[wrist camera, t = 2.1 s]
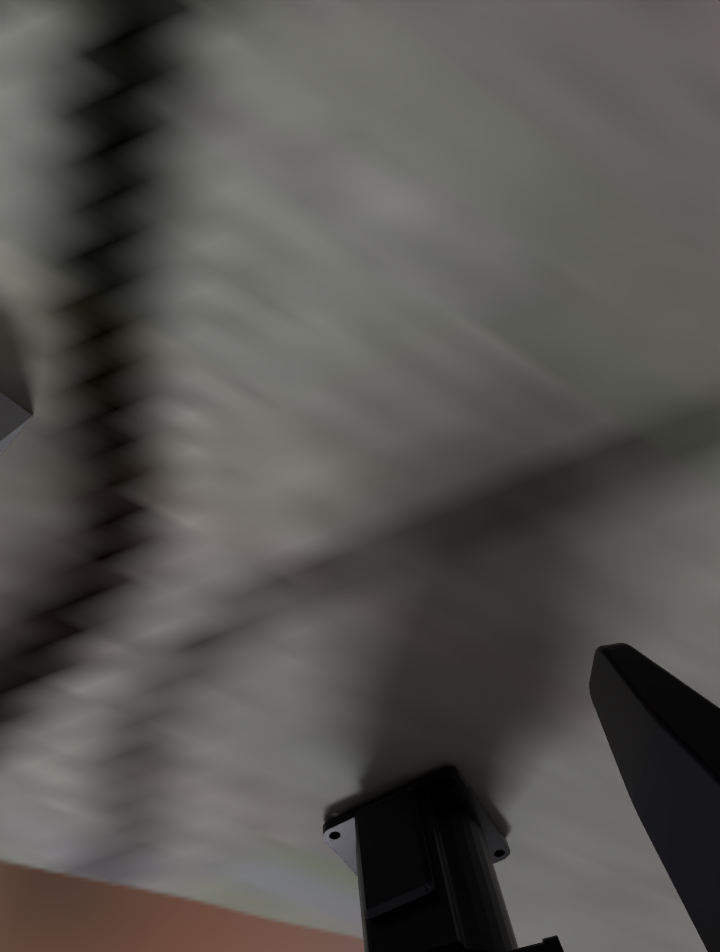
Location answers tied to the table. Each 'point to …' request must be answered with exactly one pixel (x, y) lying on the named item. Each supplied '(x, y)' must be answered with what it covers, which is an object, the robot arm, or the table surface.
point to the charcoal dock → (11, 420)
